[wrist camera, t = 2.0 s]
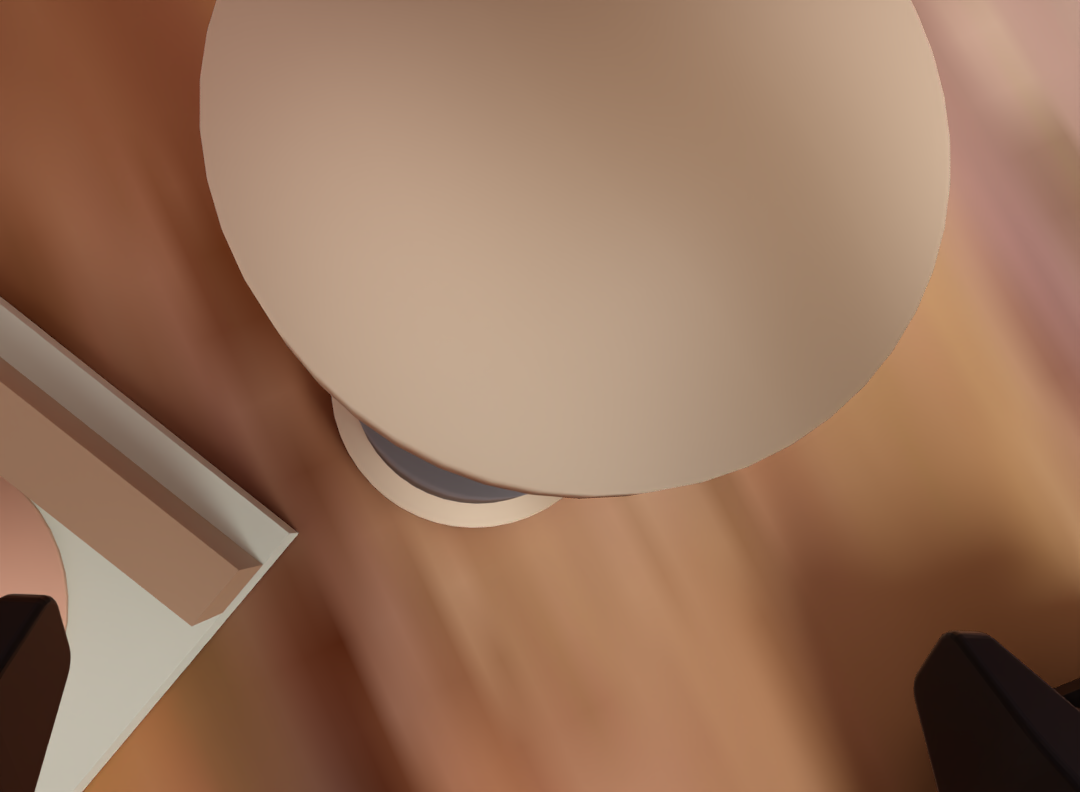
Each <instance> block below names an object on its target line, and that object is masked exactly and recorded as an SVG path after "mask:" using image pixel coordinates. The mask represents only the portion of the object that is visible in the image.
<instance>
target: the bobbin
mask: <svg viewBox="0 0 1080 792" xmlns="http://www.w3.org/2000/svg"><path fill="white" fill-rule="evenodd" d="M200 134H201V141H202V148H203V155H204V162H205V169H206V175H207V181H208V184H209V188H210V191H211V195H212V198H213V201H214V205H215V208H216V212H217V215H218V218H219V222H220V225H221V229H222V231H223V234H224V236H225V238H226V240H227V242H228V245H229V247H230V249H231V251H232V253H233V256H234V258H235V260H236V262H237V264H238V267H239V269H240V271H241V273H242V275H243V278H244V279H245V281H246V283H247V284H248V286H249V287H250V289H251V291H252V292H253V294H254V295H255V297H256V298H257V300H258V302H259V303H260V305H261V306H262V308H263V310H264V311H265V313H266V314H267V316H268V317H269V319H270V321H271V322H272V324H273V325H274V327H275V328H276V330H277V331H278V333H279V334H280V336H281V337H282V339H283V340H284V342H285V343H286V345H287V346H288V348H289V349H290V350H291V351H292V352H293V354H294V355H295V356H296V357H297V358H298V360H299V361H300V362H301V363H302V364H303V366H304V367H305V368H306V369H307V370H308V372H309V373H310V374H311V375H312V376H313V377H314V379H315V380H316V381H317V382H318V383H319V385H320V386H321V387H323V388H324V389H325V390H326V391H327V392H328V393H329V394H330V395H331V398H332V405H333V411H334V417H335V420H336V423H337V427H338V430H339V433H340V436H341V438H342V440H343V442H344V445H345V447H346V449H347V451H348V453H349V455H350V456H351V458H352V459H353V461H354V462H355V464H356V466H357V467H358V469H359V470H360V471H361V472H362V473H363V475H364V476H365V477H366V478H367V479H368V481H369V482H370V483H371V484H372V485H373V486H374V487H375V488H376V489H377V490H378V491H379V492H380V493H382V494H383V495H384V496H385V497H386V498H387V499H389V500H390V501H392V502H393V503H395V504H396V505H397V506H399V507H400V508H402V509H404V510H406V511H408V512H410V513H412V514H414V515H416V516H418V517H421V518H423V519H426V520H429V521H432V522H435V523H439V524H444V525H449V526H455V527H469V528H475V527H492V526H498V525H503V524H508V523H513V522H516V521H519V520H522V519H525V518H528V517H530V516H532V515H534V514H536V513H539V512H541V511H543V510H545V509H547V508H548V507H550V506H551V505H553V504H554V503H556V502H557V501H559V500H560V499H562V498H563V497H565V498H578V499H581V498H600V497H619V496H629V495H636V494H642V493H648V492H654V491H659V490H665V489H670V488H675V487H680V486H686V485H691V484H696V483H701V482H704V481H707V480H710V479H713V478H716V477H719V476H722V475H725V474H728V473H731V472H734V471H737V470H740V469H743V468H746V467H749V466H751V465H753V464H755V463H757V462H758V461H760V460H762V459H764V458H766V457H768V456H770V455H772V454H774V453H776V452H778V451H780V450H782V449H784V448H786V447H788V446H790V445H792V444H794V443H795V442H796V441H798V440H799V439H801V438H802V437H804V436H805V435H806V434H808V433H809V432H811V431H812V430H814V429H815V428H816V427H818V426H819V425H821V424H822V423H824V422H825V421H827V420H828V419H829V418H831V417H832V416H833V415H834V414H835V413H836V412H837V411H838V410H839V409H840V408H841V407H843V406H844V405H845V404H846V403H847V402H848V401H849V400H850V399H851V398H852V397H853V396H854V395H855V394H856V393H858V392H859V391H860V390H861V389H862V388H863V387H864V386H865V385H866V384H867V382H868V381H869V380H870V379H871V377H872V376H873V375H874V374H875V372H876V371H877V370H878V369H879V367H880V366H881V365H882V364H883V362H884V361H885V360H886V359H887V357H888V356H889V355H890V354H891V352H892V351H893V350H894V348H895V346H896V345H897V343H898V341H899V340H900V338H901V336H902V335H903V333H904V331H905V330H906V328H907V326H908V325H909V323H910V321H911V320H912V318H913V316H914V314H915V313H916V311H917V308H918V306H919V304H920V301H921V299H922V297H923V294H924V292H925V289H926V287H927V285H928V282H929V280H930V277H931V275H932V273H933V270H934V266H935V262H936V259H937V255H938V251H939V247H940V244H941V240H942V236H943V232H944V228H945V221H946V213H947V205H948V197H949V189H950V136H949V129H948V121H947V114H946V106H945V99H944V93H943V89H942V86H941V82H940V78H939V74H938V70H937V67H936V63H935V59H934V55H933V52H932V49H931V47H930V44H929V42H928V39H927V36H926V34H925V31H924V29H923V26H922V24H921V21H920V19H919V16H918V14H917V11H916V9H915V7H914V5H913V4H912V2H911V0H216V3H215V6H214V10H213V13H212V16H211V20H210V23H209V26H208V29H207V35H206V42H205V48H204V55H203V62H202V68H201V75H200Z"/></svg>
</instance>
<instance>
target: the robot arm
mask: <svg viewBox="0 0 1080 792" xmlns="http://www.w3.org/2000/svg"><path fill="white" fill-rule="evenodd" d="M70 662H71V652H70V646H69V643H68V639H67V636H66V632H65V629H64V625H63V621H62V618H61V614H60V611H59V607H58V605H57V602H56V601H55V600H54V599H53V598H52V597H51V596H48V595H37V594H8V595H5V596H3V597H1V598H0V792H35V789H36V785H37V782H38V779H39V775H40V772H41V768H42V765H43V761H44V758H45V754H46V751H47V747H48V744H49V740H50V737H51V733H52V730H53V726H54V723H55V720H56V716H57V713H58V709H59V706H60V702H61V699H62V695H63V692H64V688H65V685H66V681H67V678H68V674H69V669H70ZM914 698H915V703H916V707H917V711H918V715H919V719H920V723H921V727H922V731H923V735H924V739H925V743H926V746H927V750H928V754H929V758H930V762H931V766H932V770H933V774H934V778H935V782H936V786H937V790H938V792H1080V711H1079V710H1078V709H1077V708H1076V707H1074V706H1073V705H1072V704H1071V703H1070V702H1068V701H1067V700H1066V699H1065V698H1064V697H1062V696H1061V695H1060V694H1059V693H1058V692H1057V691H1055V690H1054V689H1053V688H1052V687H1051V686H1049V685H1048V684H1047V683H1046V682H1045V681H1044V680H1042V679H1041V678H1040V677H1039V676H1038V675H1036V674H1035V673H1034V672H1033V671H1032V670H1030V669H1029V668H1028V667H1027V666H1026V665H1025V664H1023V663H1022V662H1021V661H1020V660H1019V659H1017V658H1016V657H1015V656H1014V655H1013V654H1012V653H1010V652H1009V651H1008V650H1007V649H1006V648H1004V647H1003V646H1002V645H1001V644H1000V643H998V642H997V641H996V640H995V639H994V638H992V637H991V636H989V635H987V634H985V633H982V632H977V631H955V630H953V631H948V632H946V633H944V634H943V635H942V636H941V637H940V638H939V640H938V641H937V643H936V644H935V646H934V647H933V649H932V651H931V652H930V654H929V655H928V657H927V658H926V660H925V661H924V663H923V664H922V666H921V668H920V669H919V671H918V672H917V674H916V677H915V680H914Z"/></svg>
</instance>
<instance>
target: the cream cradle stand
mask: <svg viewBox="0 0 1080 792" xmlns="http://www.w3.org/2000/svg"><path fill="white" fill-rule="evenodd" d="M297 535H298V532H296V531H295V530H294V529H293V528H291V527H290V526H289V525H288V524H286V523H285V522H284V521H283V520H281V519H280V518H279V517H278V516H276V515H275V514H274V513H273V512H271V511H270V510H269V509H268V508H266V507H265V506H264V505H262V504H261V503H260V502H259V501H257V500H256V499H255V498H254V497H252V496H251V495H250V494H249V493H247V492H246V491H245V490H244V489H242V488H241V487H240V486H239V485H237V484H236V483H235V482H234V481H232V480H231V479H230V478H228V477H227V476H226V475H225V474H223V473H222V472H221V471H220V470H218V469H217V468H216V467H215V466H213V465H212V464H211V463H210V462H208V461H207V460H206V459H205V458H203V457H202V456H201V455H199V454H198V453H197V452H196V451H194V450H193V449H192V448H191V447H189V446H188V445H187V444H186V443H184V442H183V441H182V440H181V439H179V438H178V437H177V436H176V435H174V434H173V433H172V432H171V431H169V430H168V429H167V428H165V427H164V426H163V425H162V424H160V423H159V422H158V421H157V420H155V419H154V418H153V417H152V416H150V415H149V414H148V413H147V412H145V411H144V410H143V409H142V408H140V407H139V406H138V405H136V404H135V403H134V402H133V401H131V400H130V399H129V398H128V397H126V396H125V395H124V394H123V393H121V392H120V391H119V390H118V389H116V388H115V387H114V386H113V385H111V384H110V383H109V382H108V381H106V380H105V379H104V378H102V377H101V376H100V375H99V374H97V373H96V372H95V371H94V370H92V369H91V368H90V367H89V366H87V365H86V364H85V363H84V362H82V361H81V360H80V359H79V358H77V357H76V356H75V355H74V354H72V353H71V352H70V351H68V350H67V349H66V348H65V347H63V346H62V345H61V344H60V343H58V342H57V341H56V340H55V339H53V338H52V337H51V336H50V335H48V334H47V333H46V332H45V331H43V330H42V329H41V328H39V327H38V326H37V325H36V324H34V323H33V322H32V321H31V320H29V319H28V318H27V317H26V316H24V315H23V314H22V313H21V312H19V311H18V310H17V309H16V308H14V307H13V306H12V305H11V304H9V303H8V302H7V301H5V300H4V299H3V298H2V297H0V598H1V597H3V596H5V595H8V594H37V595H48V596H51V597H52V598H53V599H54V600H55V601H56V602H57V605H58V607H59V611H60V614H61V618H62V621H63V625H64V629H65V632H66V636H67V639H68V643H69V646H70V652H71V662H70V669H69V674H68V678H67V681H66V685H65V688H64V692H63V695H62V699H61V702H60V706H59V709H58V713H57V716H56V720H55V723H54V726H53V730H52V733H51V737H50V740H49V744H48V747H47V751H46V754H45V758H44V761H43V765H42V768H41V772H40V775H39V779H38V782H37V785H36V789H35V792H82V791H83V790H84V789H85V788H86V787H87V785H88V784H89V783H90V782H91V781H92V779H93V778H94V777H95V776H96V775H97V774H98V772H99V771H100V770H101V769H102V768H103V766H104V765H105V764H106V763H107V762H108V760H109V759H110V758H111V757H112V756H113V754H114V753H115V752H116V751H117V750H118V748H119V747H120V746H121V745H122V744H123V742H124V741H125V740H126V739H127V738H128V737H129V735H130V734H131V733H132V732H133V731H134V729H135V728H136V727H137V726H138V725H139V723H140V722H141V721H142V720H143V719H144V717H145V716H146V715H147V714H148V713H149V711H150V710H151V709H152V708H153V707H154V705H155V704H156V703H157V702H158V701H159V699H160V698H161V697H162V696H163V695H164V694H165V692H166V691H167V690H168V689H169V688H170V686H171V685H172V684H173V683H174V682H175V680H176V679H177V678H178V677H179V676H180V674H181V673H182V672H183V671H184V670H185V668H186V667H187V666H188V665H189V664H190V662H191V661H192V660H193V659H194V658H195V656H196V655H197V654H198V653H199V652H200V651H201V649H202V648H203V647H204V646H205V645H206V643H207V642H208V641H209V640H210V639H211V637H212V636H213V635H214V634H215V633H216V631H217V630H218V629H219V628H220V627H221V625H222V624H223V623H224V622H225V621H226V619H227V618H228V617H229V616H230V615H231V613H232V612H233V611H234V610H235V609H236V608H237V606H238V605H239V604H240V603H241V602H242V600H243V599H244V598H245V597H246V596H247V594H248V593H249V592H250V591H251V590H252V588H253V587H254V586H255V585H256V584H257V582H258V581H259V580H260V579H261V578H262V576H263V575H264V574H265V573H266V572H267V570H268V569H269V568H270V567H271V566H272V565H273V563H274V562H275V561H276V560H277V559H278V557H279V556H280V555H281V554H282V553H283V551H284V550H285V549H286V548H287V547H288V545H289V544H290V543H291V542H292V541H293V539H294V538H295V537H296V536H297Z"/></svg>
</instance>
